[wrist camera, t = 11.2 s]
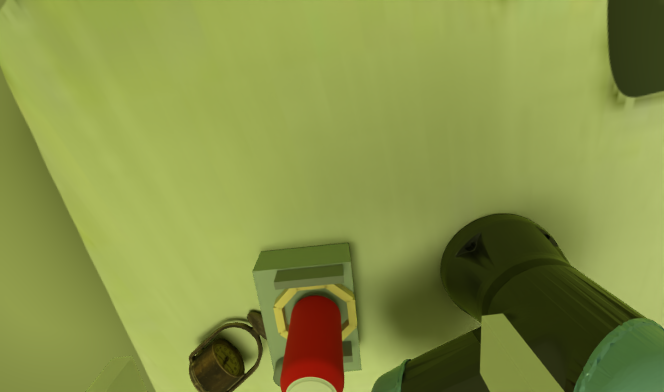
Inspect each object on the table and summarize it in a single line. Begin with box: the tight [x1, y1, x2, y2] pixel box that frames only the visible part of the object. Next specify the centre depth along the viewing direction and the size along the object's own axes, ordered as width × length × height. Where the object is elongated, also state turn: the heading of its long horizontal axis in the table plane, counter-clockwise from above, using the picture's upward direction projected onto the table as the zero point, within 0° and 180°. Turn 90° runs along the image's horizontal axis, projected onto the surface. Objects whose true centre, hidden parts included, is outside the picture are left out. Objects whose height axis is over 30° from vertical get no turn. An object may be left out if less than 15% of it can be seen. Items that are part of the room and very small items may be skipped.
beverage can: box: [280, 294, 344, 392], centre depth 34 cm, size 6×6×12 cm
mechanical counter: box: [189, 312, 267, 392], centre depth 44 cm, size 7×13×10 cm
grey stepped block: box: [252, 243, 362, 387], centre depth 41 cm, size 12×17×8 cm
